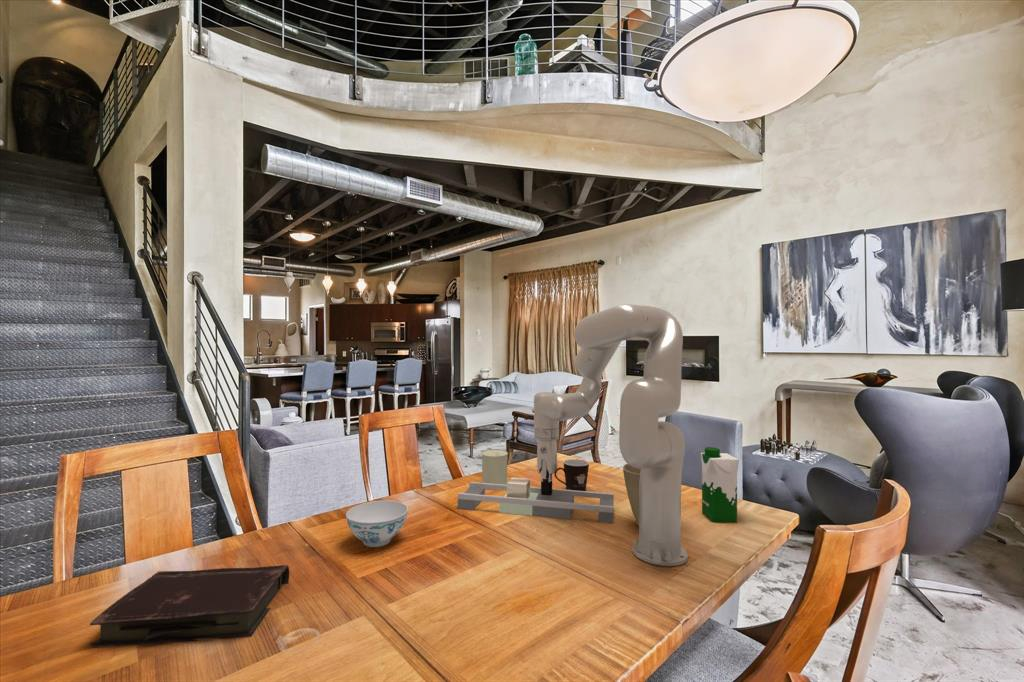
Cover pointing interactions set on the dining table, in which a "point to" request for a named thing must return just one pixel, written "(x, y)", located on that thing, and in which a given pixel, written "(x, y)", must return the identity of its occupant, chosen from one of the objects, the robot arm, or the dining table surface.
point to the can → (494, 467)
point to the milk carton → (719, 485)
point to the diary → (191, 606)
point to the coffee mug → (575, 474)
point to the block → (518, 488)
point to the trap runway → (538, 502)
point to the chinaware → (376, 521)
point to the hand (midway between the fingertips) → (546, 494)
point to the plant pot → (632, 488)
